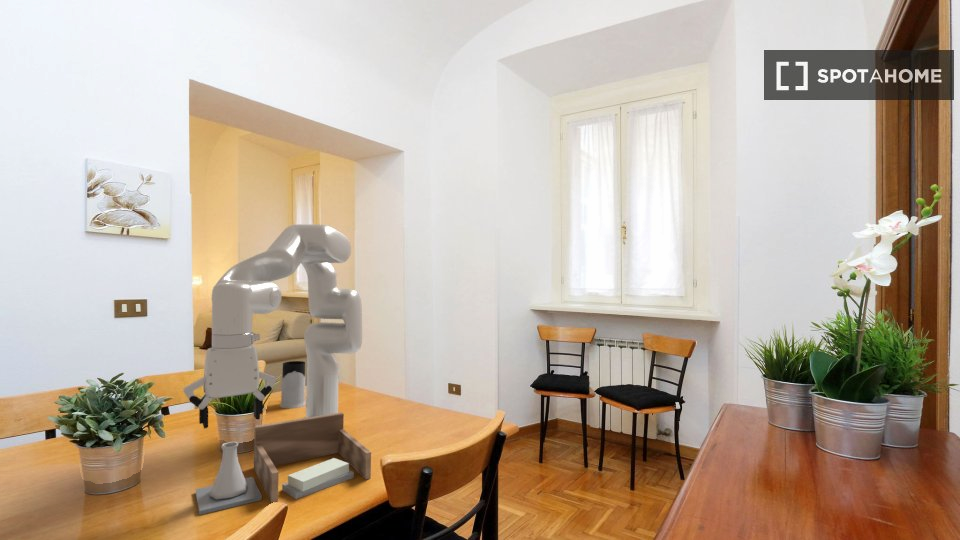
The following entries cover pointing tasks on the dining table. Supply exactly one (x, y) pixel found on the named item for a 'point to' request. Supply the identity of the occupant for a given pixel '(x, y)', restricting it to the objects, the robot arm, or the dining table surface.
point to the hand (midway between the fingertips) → (231, 422)
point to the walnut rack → (304, 447)
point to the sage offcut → (318, 474)
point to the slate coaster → (211, 504)
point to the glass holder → (293, 385)
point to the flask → (229, 474)
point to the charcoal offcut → (298, 493)
